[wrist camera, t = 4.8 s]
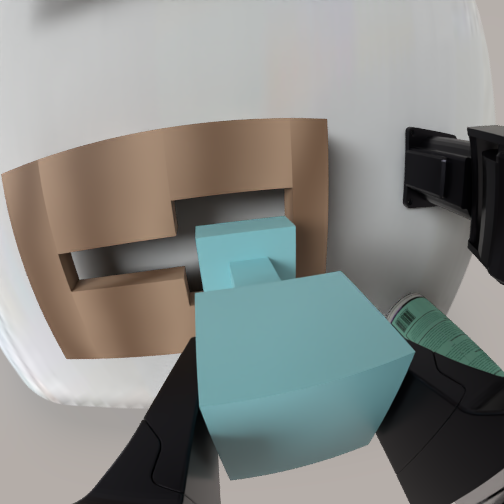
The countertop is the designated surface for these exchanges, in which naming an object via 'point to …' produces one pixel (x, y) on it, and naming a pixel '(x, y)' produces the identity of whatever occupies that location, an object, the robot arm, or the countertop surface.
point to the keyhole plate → (153, 222)
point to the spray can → (438, 333)
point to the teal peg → (286, 353)
